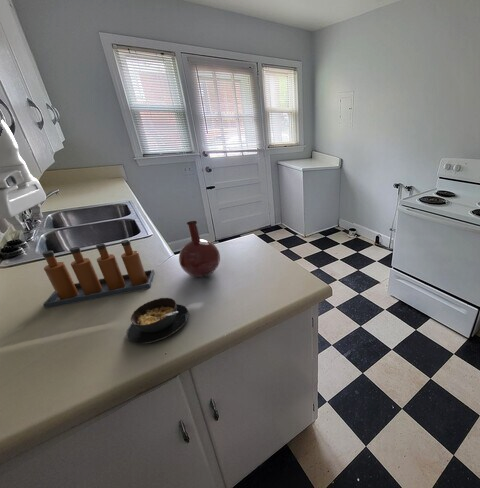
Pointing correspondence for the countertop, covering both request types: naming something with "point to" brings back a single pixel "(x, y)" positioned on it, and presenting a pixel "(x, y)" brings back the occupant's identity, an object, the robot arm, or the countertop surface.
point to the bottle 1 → (85, 273)
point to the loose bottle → (59, 277)
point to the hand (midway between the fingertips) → (30, 223)
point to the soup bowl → (156, 320)
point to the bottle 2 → (109, 268)
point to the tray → (105, 291)
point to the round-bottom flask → (198, 254)
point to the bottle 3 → (133, 264)
